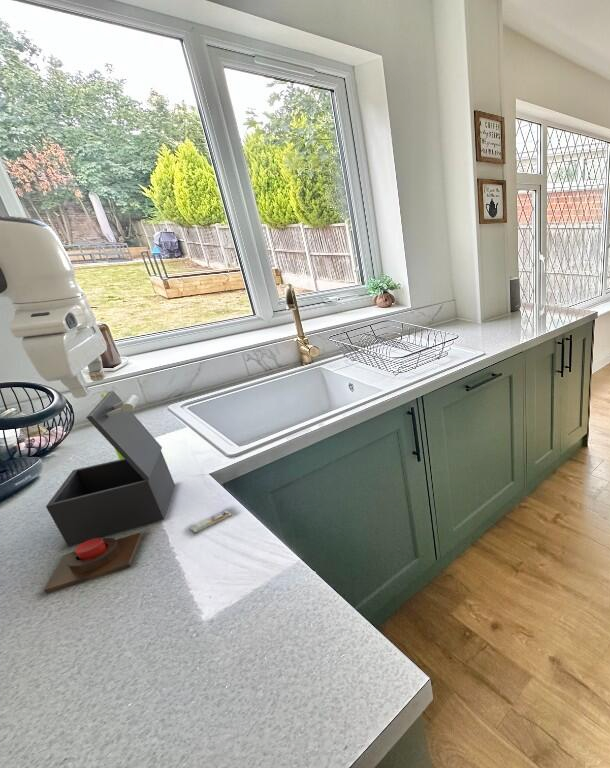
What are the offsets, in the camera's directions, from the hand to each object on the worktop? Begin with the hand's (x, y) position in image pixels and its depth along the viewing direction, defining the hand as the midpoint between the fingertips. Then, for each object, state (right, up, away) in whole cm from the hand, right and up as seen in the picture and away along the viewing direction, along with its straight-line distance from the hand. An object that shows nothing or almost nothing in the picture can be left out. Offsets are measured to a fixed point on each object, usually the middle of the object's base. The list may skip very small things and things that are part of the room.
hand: (91, 387), depth 78 cm
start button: (+5, -29, -4) cm, 30 cm away
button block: (+5, -32, -3) cm, 32 cm away
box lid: (+2, -10, +5) cm, 11 cm away
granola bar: (+18, -28, +6) cm, 34 cm away
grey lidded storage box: (-2, -27, +9) cm, 29 cm away
